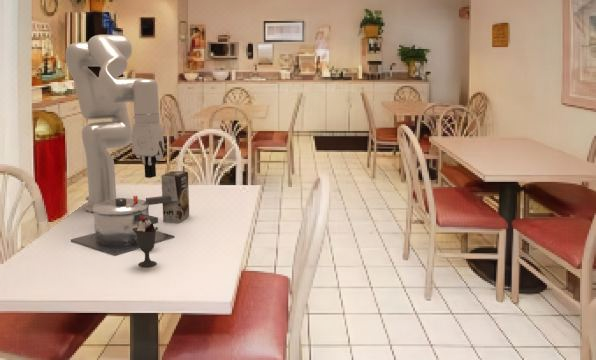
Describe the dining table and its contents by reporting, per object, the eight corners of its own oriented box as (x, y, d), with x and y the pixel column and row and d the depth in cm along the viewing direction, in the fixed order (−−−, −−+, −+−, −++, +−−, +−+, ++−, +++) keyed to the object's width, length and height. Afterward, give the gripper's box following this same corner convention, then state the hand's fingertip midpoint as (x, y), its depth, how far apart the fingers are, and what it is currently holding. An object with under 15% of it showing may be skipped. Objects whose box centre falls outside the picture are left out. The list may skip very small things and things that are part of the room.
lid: (100, 218, 177) (99, 207, 177) (87, 205, 191) (86, 195, 191) (179, 207, 189) (178, 197, 188) (162, 196, 203) (161, 187, 202)
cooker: (70, 241, 189) (68, 210, 187) (130, 225, 206) (128, 197, 204) (124, 259, 173) (122, 225, 171) (184, 240, 190) (183, 209, 188)
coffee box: (180, 223, 209) (178, 176, 205) (162, 222, 210) (160, 175, 207) (190, 216, 217) (188, 171, 214) (173, 215, 219) (171, 170, 215)
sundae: (136, 260, 171) (133, 208, 168) (161, 260, 172) (159, 207, 169) (132, 268, 165) (129, 214, 162) (158, 268, 165) (155, 213, 162)
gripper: (121, 119, 194) (125, 177, 198) (156, 121, 186) (159, 181, 190) (138, 117, 200) (142, 173, 204) (173, 119, 193) (176, 177, 196)
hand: (150, 176), depth 197 cm, fingers closed
